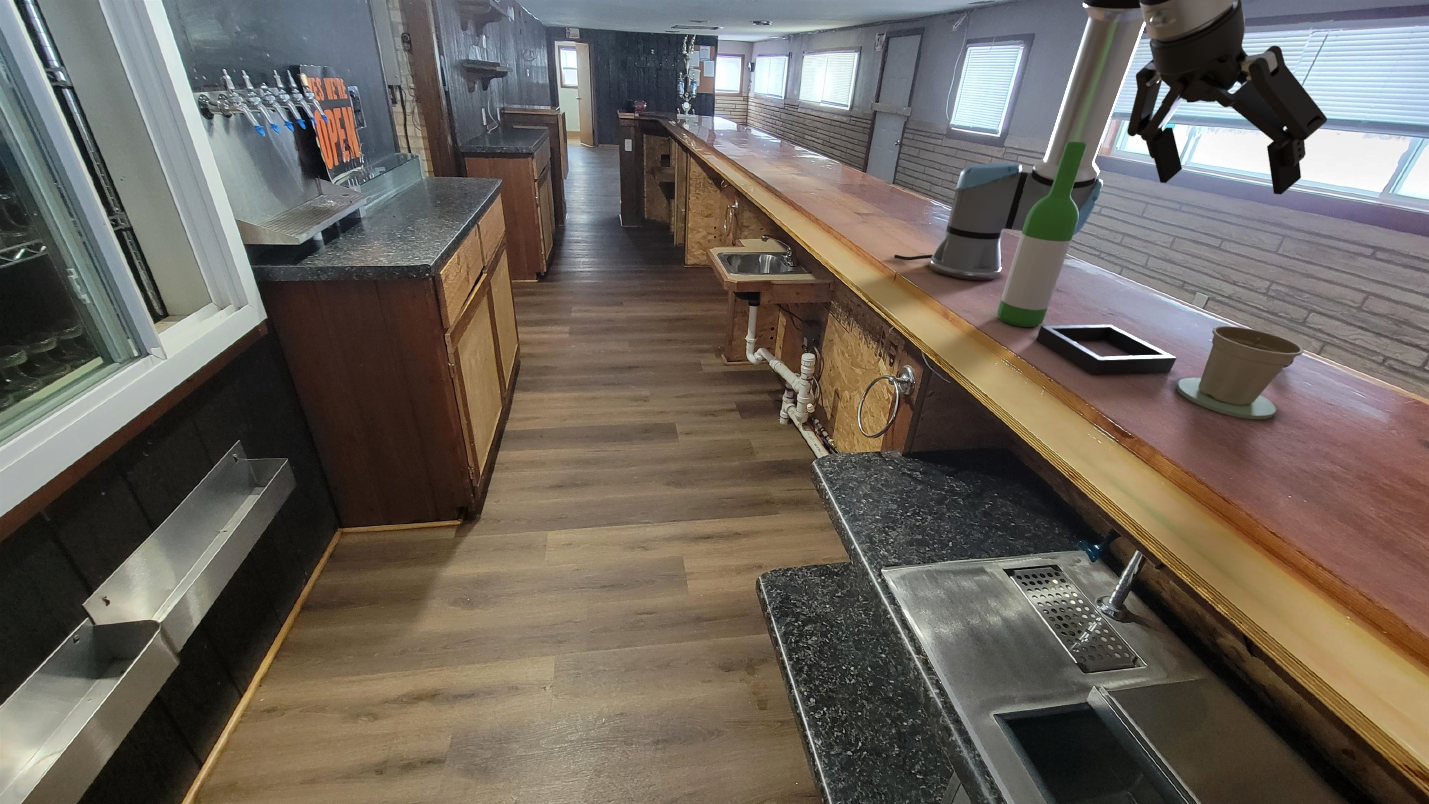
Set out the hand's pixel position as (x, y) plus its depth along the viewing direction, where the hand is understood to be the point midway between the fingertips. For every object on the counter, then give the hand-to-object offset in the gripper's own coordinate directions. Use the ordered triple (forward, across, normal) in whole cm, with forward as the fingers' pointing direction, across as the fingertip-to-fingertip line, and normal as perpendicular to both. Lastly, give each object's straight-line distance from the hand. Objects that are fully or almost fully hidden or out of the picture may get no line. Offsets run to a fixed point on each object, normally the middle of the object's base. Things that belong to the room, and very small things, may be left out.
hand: (1224, 180), depth 70 cm
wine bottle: (+20, -26, -17) cm, 37 cm away
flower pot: (+26, +6, -13) cm, 30 cm away
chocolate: (+40, 0, +3) cm, 40 cm away
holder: (+22, -10, -16) cm, 29 cm away
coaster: (+27, +6, -13) cm, 30 cm away
